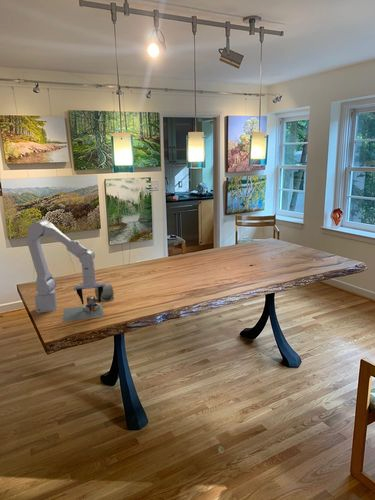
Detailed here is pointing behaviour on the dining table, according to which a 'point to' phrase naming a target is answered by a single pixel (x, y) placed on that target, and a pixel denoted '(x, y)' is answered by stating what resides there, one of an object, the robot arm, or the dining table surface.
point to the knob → (91, 302)
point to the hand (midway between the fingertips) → (91, 302)
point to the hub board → (82, 313)
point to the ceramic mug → (105, 293)
